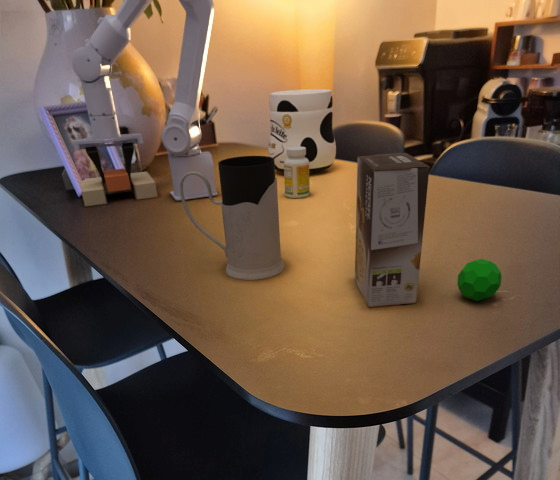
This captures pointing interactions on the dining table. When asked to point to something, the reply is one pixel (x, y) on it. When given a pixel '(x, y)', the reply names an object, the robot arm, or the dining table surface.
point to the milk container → (302, 126)
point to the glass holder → (247, 216)
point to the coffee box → (389, 227)
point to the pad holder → (97, 191)
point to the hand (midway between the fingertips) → (116, 180)
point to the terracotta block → (116, 180)
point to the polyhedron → (479, 280)
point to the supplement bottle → (296, 173)
